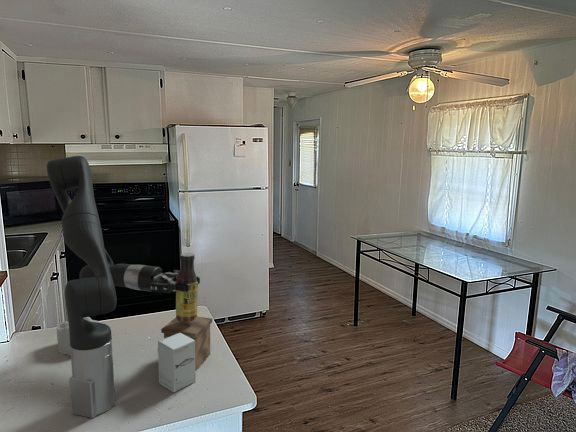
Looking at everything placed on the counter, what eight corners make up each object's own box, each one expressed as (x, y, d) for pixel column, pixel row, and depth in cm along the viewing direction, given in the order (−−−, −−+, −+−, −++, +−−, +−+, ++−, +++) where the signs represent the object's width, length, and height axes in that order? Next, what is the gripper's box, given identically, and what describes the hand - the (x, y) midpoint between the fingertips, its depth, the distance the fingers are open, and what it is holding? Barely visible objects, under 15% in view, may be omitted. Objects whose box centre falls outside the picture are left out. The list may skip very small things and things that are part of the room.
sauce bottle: (185, 325, 118) (184, 259, 115) (171, 318, 122) (170, 254, 118) (202, 317, 124) (202, 254, 120) (188, 311, 127) (188, 250, 123)
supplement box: (173, 393, 109) (172, 349, 106) (158, 382, 113) (156, 340, 111) (196, 382, 114) (195, 340, 112) (180, 372, 119) (179, 331, 117)
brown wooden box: (196, 372, 119) (195, 334, 116) (162, 366, 121) (161, 329, 119) (212, 354, 129) (212, 318, 127) (181, 349, 132) (180, 314, 130)
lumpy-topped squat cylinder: (83, 357, 126) (82, 331, 124) (48, 351, 129) (46, 325, 127) (106, 341, 136) (105, 317, 134) (73, 336, 139) (71, 312, 137)
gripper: (128, 273, 117) (182, 279, 113) (156, 259, 130) (205, 265, 126) (129, 297, 118) (182, 305, 114) (157, 282, 132) (205, 288, 128)
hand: (194, 284), depth 120 cm, fingers closed on sauce bottle, 6 cm apart
